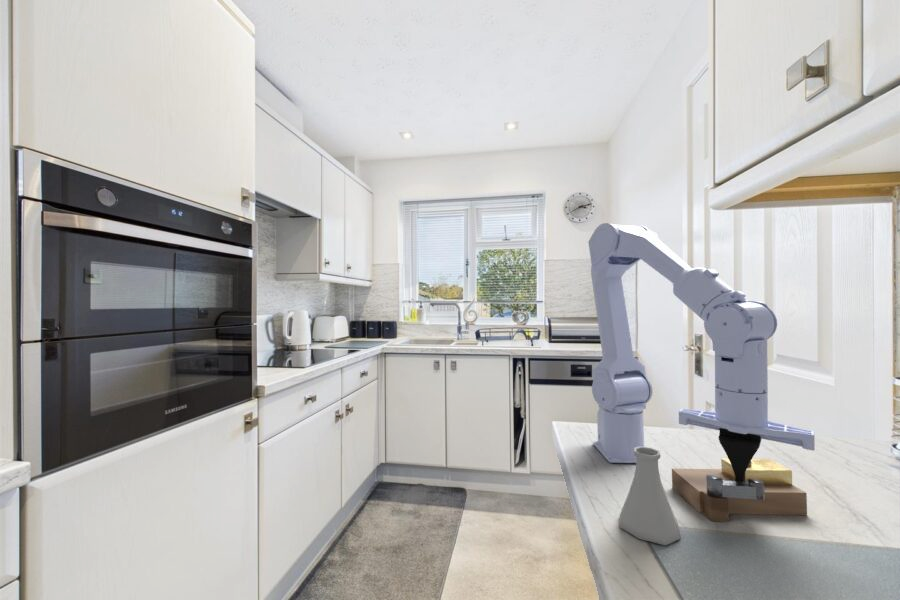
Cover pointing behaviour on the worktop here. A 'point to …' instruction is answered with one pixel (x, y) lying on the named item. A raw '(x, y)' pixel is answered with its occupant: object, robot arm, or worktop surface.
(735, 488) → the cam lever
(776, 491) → the body
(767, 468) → the lever cap
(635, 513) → the flask
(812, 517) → the worktop surface
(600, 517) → the worktop surface
